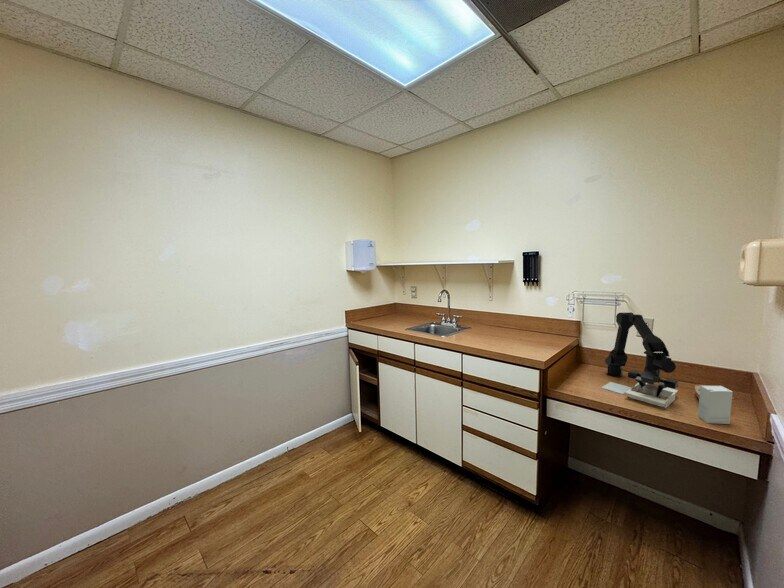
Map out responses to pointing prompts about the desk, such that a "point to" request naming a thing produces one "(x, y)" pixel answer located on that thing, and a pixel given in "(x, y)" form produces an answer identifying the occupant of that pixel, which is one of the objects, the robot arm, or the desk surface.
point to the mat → (616, 387)
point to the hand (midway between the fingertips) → (650, 395)
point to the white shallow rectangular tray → (650, 399)
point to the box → (650, 390)
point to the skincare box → (715, 404)
